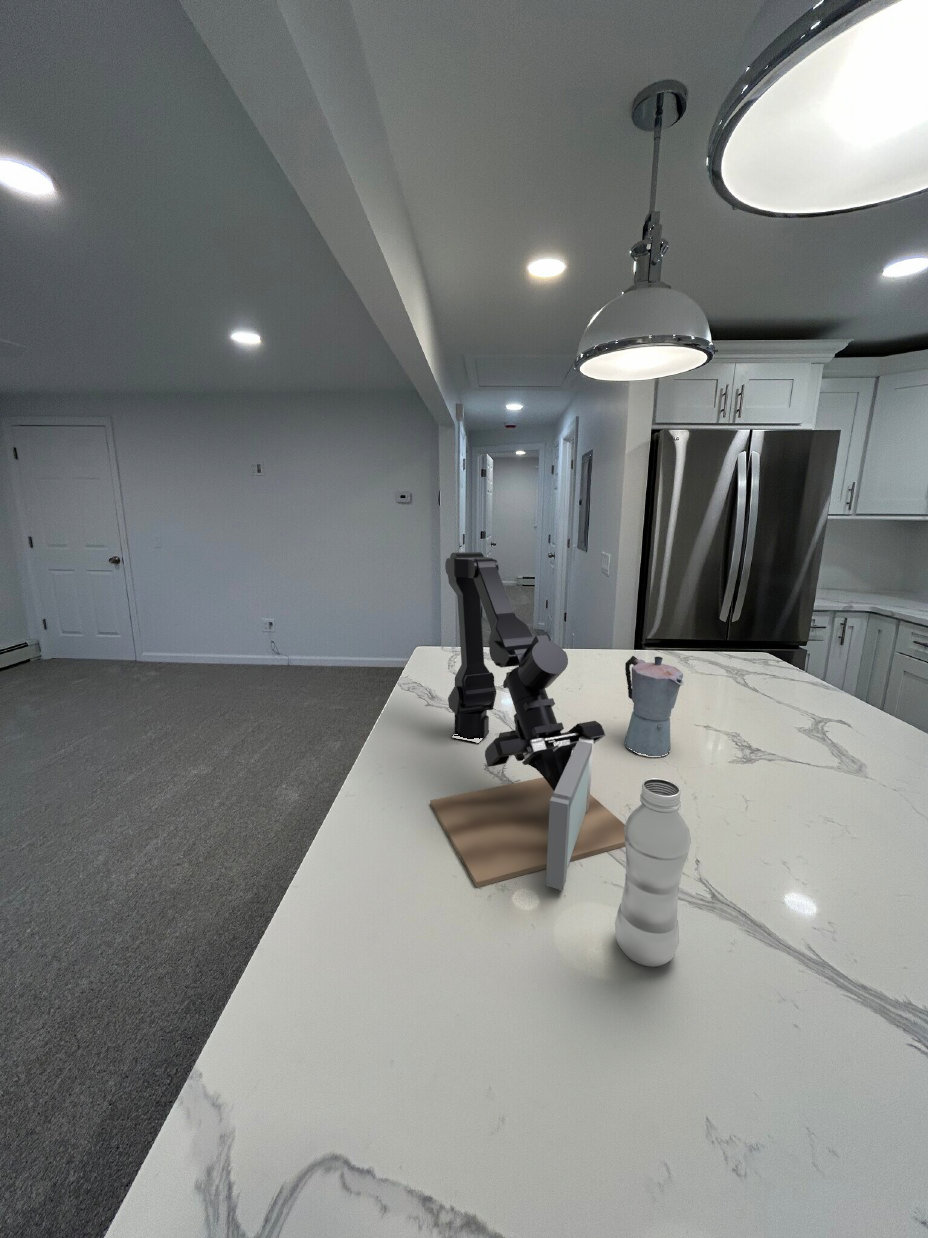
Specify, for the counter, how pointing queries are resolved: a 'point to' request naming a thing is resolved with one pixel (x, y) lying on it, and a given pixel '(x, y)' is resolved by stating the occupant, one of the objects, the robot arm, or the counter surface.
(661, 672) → the moka pot
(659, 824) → the plastic bottle
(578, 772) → the light blue panel
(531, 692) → the robot arm
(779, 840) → the counter surface
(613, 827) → the walnut board
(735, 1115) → the counter surface
